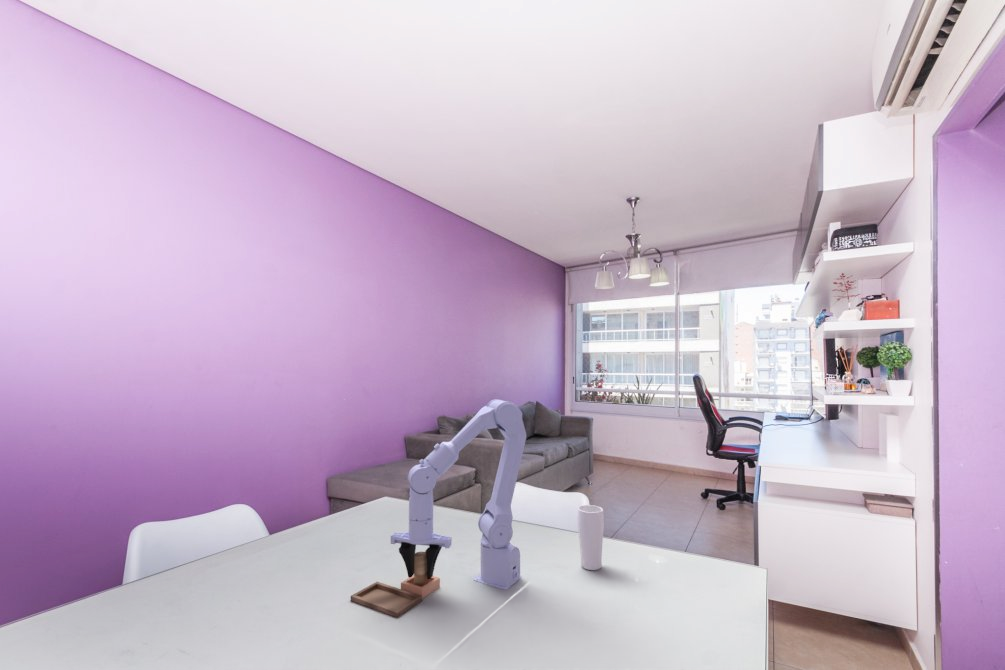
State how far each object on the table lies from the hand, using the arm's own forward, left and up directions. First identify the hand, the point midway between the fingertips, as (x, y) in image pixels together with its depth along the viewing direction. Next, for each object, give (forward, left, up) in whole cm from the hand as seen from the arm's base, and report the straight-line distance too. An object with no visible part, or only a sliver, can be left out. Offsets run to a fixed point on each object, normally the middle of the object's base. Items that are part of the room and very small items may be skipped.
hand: (420, 576), depth 109 cm
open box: (0, 0, -3) cm, 3 cm away
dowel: (0, 0, -3) cm, 3 cm away
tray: (+3, +8, -3) cm, 9 cm away
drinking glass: (-30, -33, -4) cm, 45 cm away
